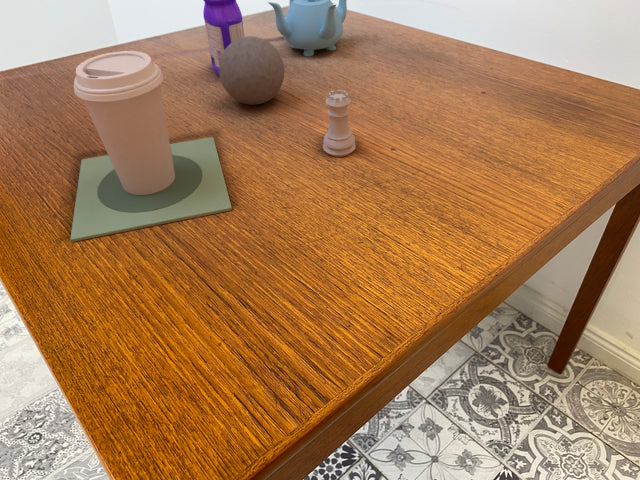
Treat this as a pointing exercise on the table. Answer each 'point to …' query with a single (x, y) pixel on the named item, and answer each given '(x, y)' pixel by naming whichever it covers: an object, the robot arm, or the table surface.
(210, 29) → the bottle
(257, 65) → the decorative ball
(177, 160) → the mat
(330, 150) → the rook chess piece
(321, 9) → the teapot
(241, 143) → the table surface
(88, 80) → the coffee cup
